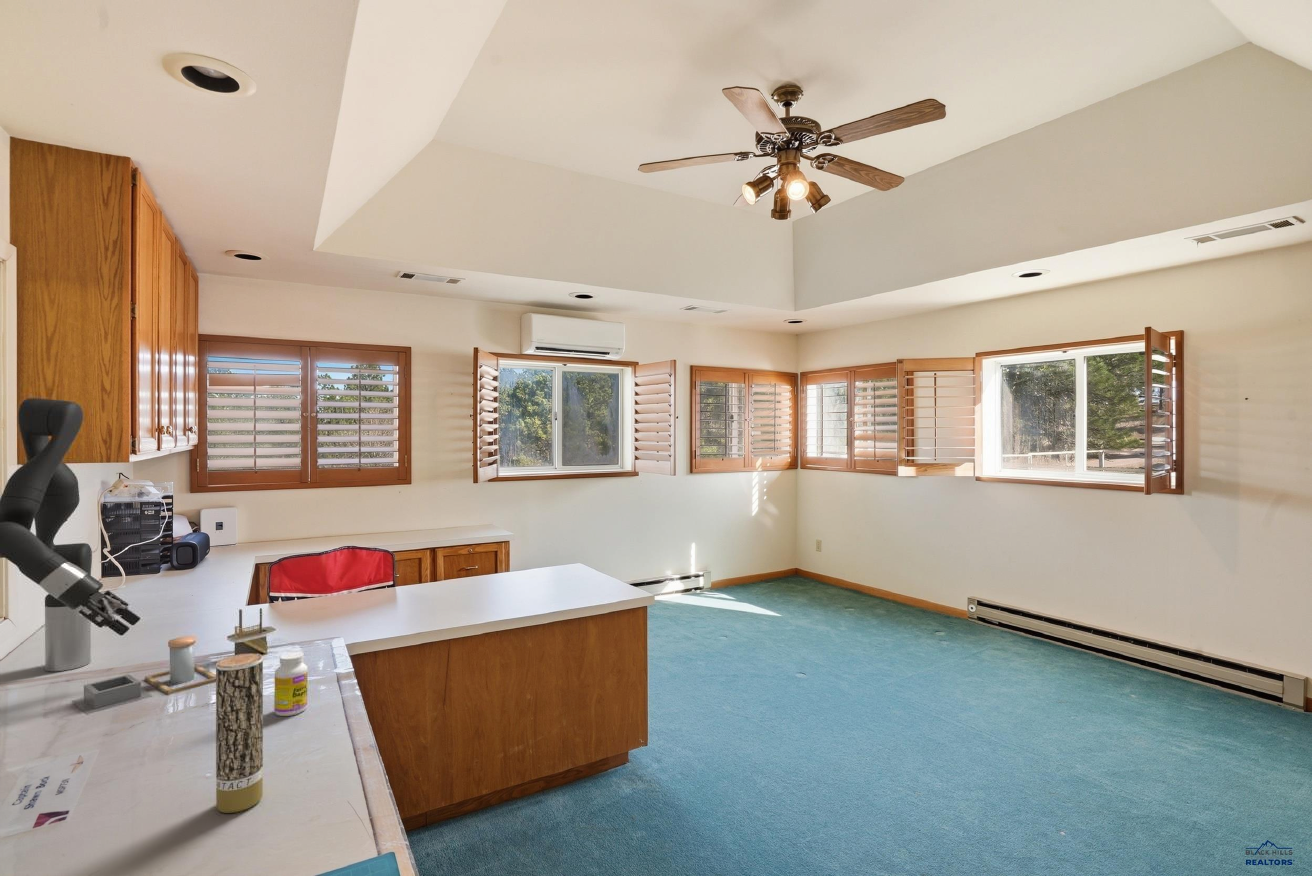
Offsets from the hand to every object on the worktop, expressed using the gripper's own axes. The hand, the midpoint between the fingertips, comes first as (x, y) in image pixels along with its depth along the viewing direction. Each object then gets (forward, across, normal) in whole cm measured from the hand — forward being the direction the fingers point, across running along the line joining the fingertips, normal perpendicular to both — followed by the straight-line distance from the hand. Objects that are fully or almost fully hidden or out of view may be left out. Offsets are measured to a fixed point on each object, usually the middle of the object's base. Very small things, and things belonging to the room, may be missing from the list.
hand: (131, 627), depth 158 cm
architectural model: (+28, +17, -4) cm, 34 cm away
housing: (+10, -7, +13) cm, 18 cm away
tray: (+19, 0, +4) cm, 19 cm away
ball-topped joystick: (+18, 0, +4) cm, 19 cm away
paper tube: (+33, -66, -12) cm, 75 cm away
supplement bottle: (+37, -28, -14) cm, 49 cm away
